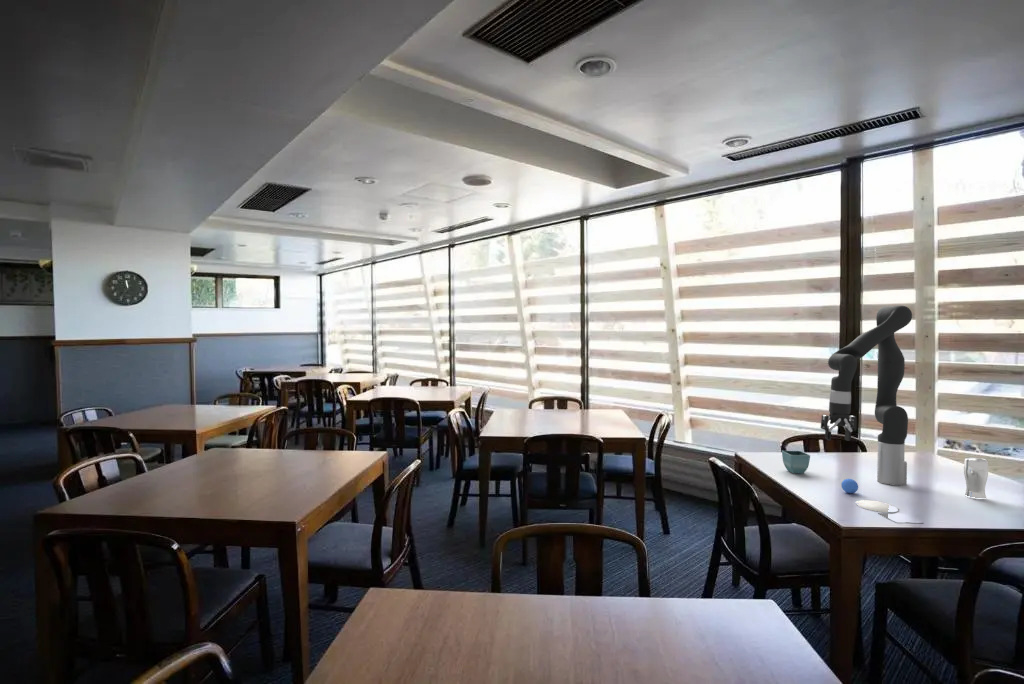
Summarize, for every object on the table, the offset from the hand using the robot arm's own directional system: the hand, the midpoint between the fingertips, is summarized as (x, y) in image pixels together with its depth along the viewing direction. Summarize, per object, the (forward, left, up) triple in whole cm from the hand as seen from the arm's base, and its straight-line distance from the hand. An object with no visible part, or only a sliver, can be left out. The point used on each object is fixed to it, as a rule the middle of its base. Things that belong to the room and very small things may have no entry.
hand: (837, 440), depth 212 cm
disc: (+1, +26, -19) cm, 32 cm away
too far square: (+1, +38, -19) cm, 43 cm away
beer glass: (-44, +14, -19) cm, 50 cm away
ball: (+1, +10, -16) cm, 19 cm away
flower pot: (+7, -20, -19) cm, 29 cm away
